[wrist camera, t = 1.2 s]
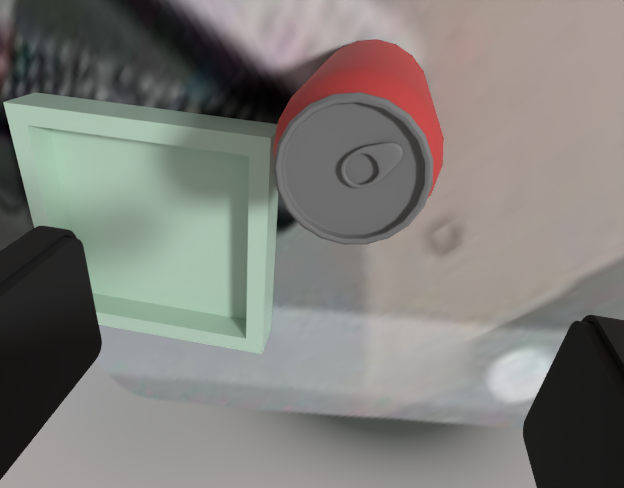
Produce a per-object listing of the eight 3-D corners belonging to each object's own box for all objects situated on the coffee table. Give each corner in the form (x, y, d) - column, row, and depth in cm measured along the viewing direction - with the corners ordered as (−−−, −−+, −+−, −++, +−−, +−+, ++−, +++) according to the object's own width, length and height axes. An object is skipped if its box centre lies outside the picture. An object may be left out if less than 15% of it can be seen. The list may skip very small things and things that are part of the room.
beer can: (448, 122, 26) (482, 211, 16) (348, 175, 29) (320, 282, 18) (394, 11, 24) (392, 33, 14) (290, 80, 26) (222, 141, 16)
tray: (35, 92, 29) (3, 102, 27) (281, 124, 28) (270, 138, 25) (78, 295, 37) (56, 316, 35) (271, 329, 36) (261, 354, 33)
